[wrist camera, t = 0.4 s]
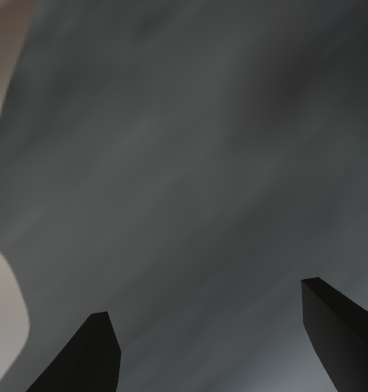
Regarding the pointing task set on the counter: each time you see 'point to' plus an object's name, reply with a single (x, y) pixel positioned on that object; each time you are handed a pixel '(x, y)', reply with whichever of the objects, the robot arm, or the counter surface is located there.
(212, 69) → the counter surface
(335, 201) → the counter surface
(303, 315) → the robot arm
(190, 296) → the counter surface
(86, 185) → the counter surface
